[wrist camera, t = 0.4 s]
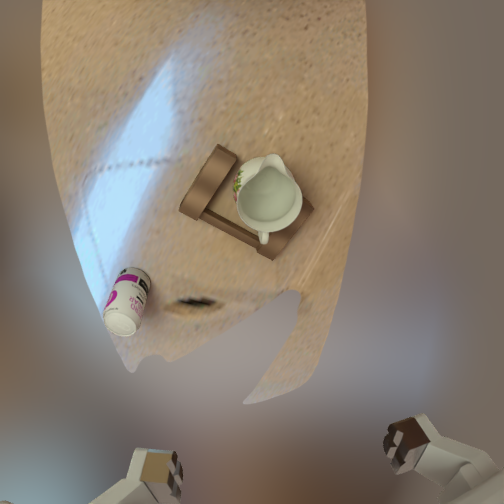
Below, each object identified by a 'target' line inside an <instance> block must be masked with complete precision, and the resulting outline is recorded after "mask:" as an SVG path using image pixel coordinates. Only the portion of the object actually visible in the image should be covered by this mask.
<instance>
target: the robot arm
mask: <svg viewBox="0 0 504 504" xmlns="http://www.w3.org/2000/svg"><path fill="white" fill-rule="evenodd" d="M387 430H388V432H389V433H388V434H387V435H386V436H385V437H384V440H383V448H384V452H385V454H386V456H387V457H389V458H391V459H392V460H391V463H390V464H391V466H392V468H393V470H394V472H395V474H396V475H398V474H401V473H404V472H406V471H409V470H412V469H414V470H415V471H417V472H419V473H420V474H422V475H423V476H425V477H427V478H428V479H430V480H432V481H433V482H435V483H437V484H439V485H440V486H442V487H444V490H443V491H442V492H441V493H440V494H439V496H438V498H437V499H438V502H439V503H440V504H504V467H503V468H502V469H500V470H499V469H498V468H497V466H496V465H495V464H494V462H493V461H492V460H491V458H490V457H489V456H488V454H487V453H486V452H484V451H482V450H479V449H476V448H473V447H471V446H468V445H465V444H463V443H460V442H457V441H455V440H452V439H449V438H447V437H441V436H440V434H439V433H438V432H437V430H436V429H435V428H434V426H433V425H432V423H431V422H430V421H429V419H428V418H427V417H426V415H425V414H423V413H422V414H419V415H416V416H413V417H409V418H406V419H403V420H401V421H398V422H395V423H392V424H390V425H389V426H388V429H387ZM177 458H178V456H177V453H176V452H175V451H166V450H154V449H145V448H136V449H135V451H134V454H133V457H132V460H131V464H130V467H129V471H128V474H127V478H126V479H121V480H120V481H119V482H118V483H116V484H115V485H114V486H112V487H111V488H110V489H108V490H107V491H106V492H104V493H103V494H102V495H100V496H99V497H97V498H96V499H95V500H93V501H92V502H90V503H89V504H159V503H165V504H180V499H181V490H180V488H179V485H181V484H182V482H183V468H182V465H181V462H179V461H178V460H177ZM0 504H12V503H11V502H8V501H0Z"/></svg>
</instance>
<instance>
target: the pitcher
mask: <svg viewBox="0 0 504 504" xmlns="http://www.w3.org/2000/svg"><path fill="white" fill-rule="evenodd" d="M233 196H234V199H235V202H236V204H237V210H238V213H239V216H240V218H241V219H242V221H243V222H244V223H245V224H246V225H247V226H249V227H250V228H252V229H254V230H257V231H258V235H259V240H260V243H261V244H267V243H268V240H269V232H275V231H279V230H281V229H284V228H286V227H287V226H289V225H290V224H291V223H292V222H293V221H294V220H295V219H296V218H297V216H298V215H299V213H300V210H301V207H302V193H301V190H300V188H299V186H298V184H297V183H296V182H295V179H294V176H293V175H292V173H291V171H290V170H289V169H288V168H287V167H286V166H285V165H284V163H283V160H282V159H281V157H280V156H279V155H277V154H269V155H268V156H266V157H257V158H253V159H251V160H249V161H247V162H246V163H244V164H243V165H242V166H241V167H240V168H239V170H238V171H237V173H236V175H235V178H234V182H233Z"/></svg>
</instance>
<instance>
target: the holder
mask: <svg viewBox="0 0 504 504" xmlns="http://www.w3.org/2000/svg"><path fill="white" fill-rule="evenodd" d="M236 160H237V159H236V154H234V153H232V152H231V151H229V150H227V149H226V148H224V147H222V146H221V145H219V144H217V145H216V147H215V148H214V150H213V152H212V153H211V155H210V156H209V158H208V159H207V161H206V163H205V164H204V166H203V167H202V169H201V171H200V172H199V174H198V175H197V177H196V179H195V180H194V182H193V184H192V185H191V187H190V188H189V190H188V192H187V194H186V195H185V197H184V199H183V200H182V202H181V204H180V208H179V212H181V213H183V214H185V215H187V216H189V217H191V218H193V219H195V220H196V221H197V220H198V218H200V219H201V220H203V221H205V222H207V223H209V224H211V225H213V226H215V227H217V228H218V229H220V230H222V231H224V232H226V233H228V234H230V235H232V236H234V237H235V238H237V239H239V240H241V241H243V242H245V243H247V244H249V245H251V246H252V247H254V248H256V250H257V253H259V254H261V255H263V256H265V257H267V258H269V259H271V260H272V261H273V260H274V258H275V257H276V256H277V255H278V253H279V252H280V251H281V250H282V249H283V247H284V246H285V245H286V244H287V242H288V241H289V240H290V239H291V237H292V236H293V235H294V234H295V232H296V231H297V230H298V229H299V227H300V226H301V225H302V224H303V222H304V221H305V220H306V219H307V217H308V216H309V215H310V214H311V212H312V211H313V210H314V208H313V206H312V205H311V204H310V202H309V201H308V200H306V199H305V198H303V197H302V207H301V210H300V213H299V215H298V216H297V218H296V219H295V220H294V221H293V222H292V223H291V224H290V225H289V226H287V227H286V228H284V229H281V230H279V231H275V232H269V240H268V243H267V244H261V243H260V240H259V237H258V236H257V235H255V234H253V233H251V232H249V231H247V230H246V229H244V228H242V227H240V226H238V225H236V224H235V223H233V222H231V221H229V220H227V219H225V218H224V217H222V216H220V215H218V214H216V213H214V212H213V211H211V210H209V209H207V208H205V207H206V205H207V204H208V202H209V201H210V199H211V198H212V196H213V194H214V193H215V191H216V190H217V188H218V187H219V185H220V184H221V182H222V181H223V179H224V178H225V176H226V175H227V173H228V172H229V170H230V169H231V167H232V166H233V164H234V163H235V161H236Z"/></svg>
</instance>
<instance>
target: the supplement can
mask: <svg viewBox="0 0 504 504" xmlns="http://www.w3.org/2000/svg"><path fill="white" fill-rule="evenodd" d="M149 289H150V280H149V278H148V276H147V275H146V274H145V273H144V272H143V271H141V270H139V269H136V268H126V269H124V270H122V271H121V272H120V273H119V275H118V277H117V279H116V282H115V284H114V287H113V289H112V292H111V294H110V296H109V299H108V301H107V304H106V307H105V309H104V312H103V318H104V324H105V326H106V327H107V329H108V330H109V331H111V332H112V333H113V334H116V335H118V336H123V337H126V336H131V335H133V334H134V333H135V332H136V331H137V330H138V329H139V327H140V324H141V319H142V315H143V311H144V308H145V304H146V300H147V296H148V292H149Z"/></svg>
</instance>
